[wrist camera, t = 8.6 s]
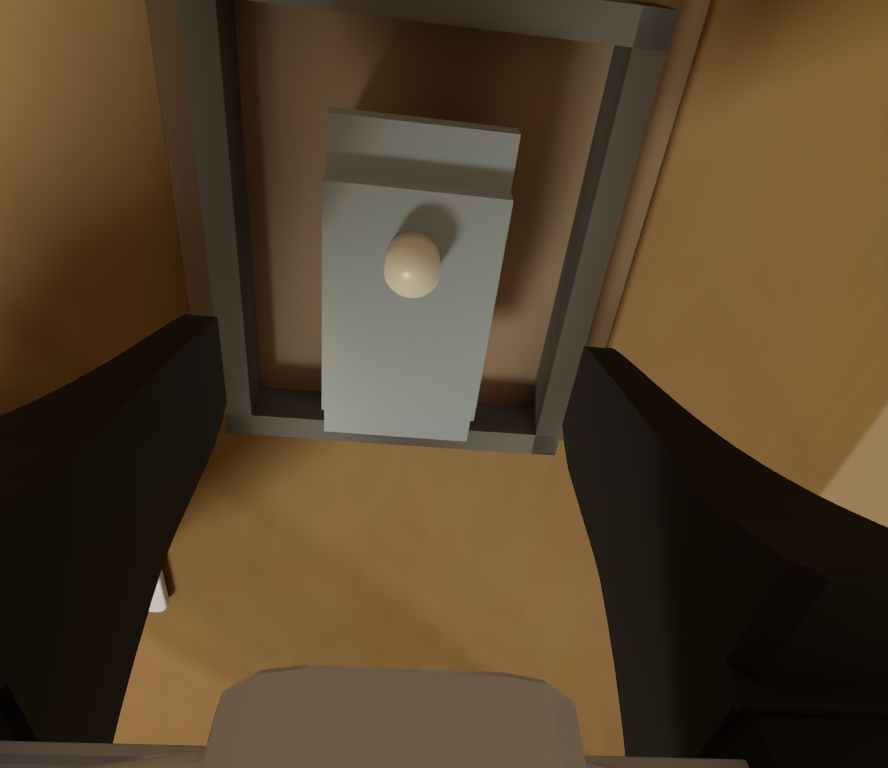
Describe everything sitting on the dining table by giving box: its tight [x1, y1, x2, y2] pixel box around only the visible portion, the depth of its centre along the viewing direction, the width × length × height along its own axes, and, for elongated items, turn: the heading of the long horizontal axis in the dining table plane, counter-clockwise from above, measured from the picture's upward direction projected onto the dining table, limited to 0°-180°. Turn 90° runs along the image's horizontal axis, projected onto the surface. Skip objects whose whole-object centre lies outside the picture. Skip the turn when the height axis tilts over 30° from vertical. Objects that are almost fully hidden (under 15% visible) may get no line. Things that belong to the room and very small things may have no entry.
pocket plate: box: [145, 0, 711, 455], centre depth 18 cm, size 13×14×2 cm
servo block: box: [322, 107, 521, 442], centre depth 16 cm, size 4×8×5 cm, turn 173°
